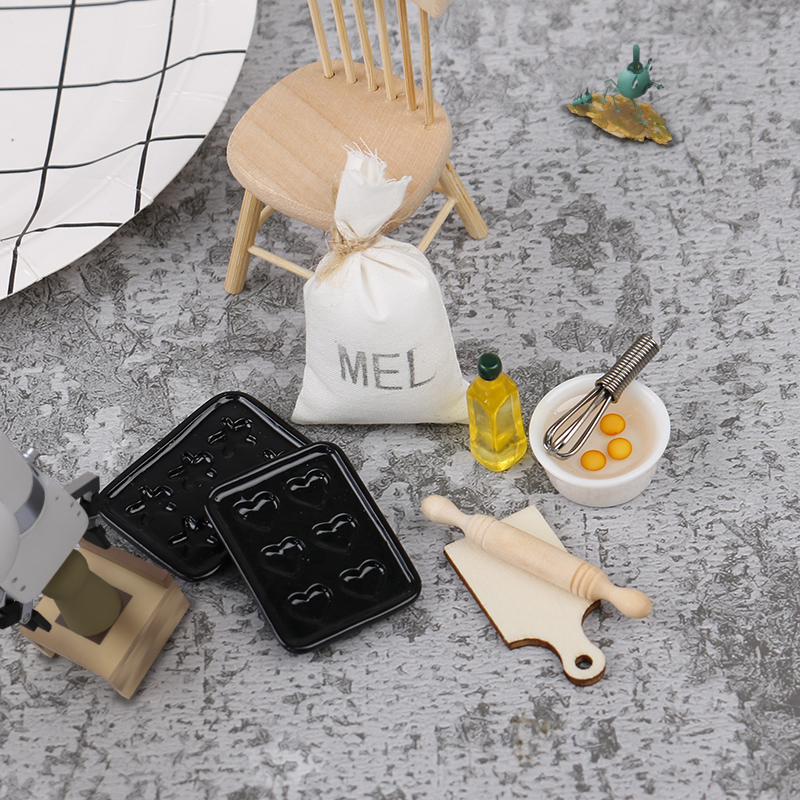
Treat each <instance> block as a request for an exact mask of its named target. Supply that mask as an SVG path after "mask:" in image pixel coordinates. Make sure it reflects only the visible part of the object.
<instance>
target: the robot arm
mask: <svg viewBox="0 0 800 800" xmlns="http://www.w3.org/2000/svg"><path fill="white" fill-rule="evenodd" d="M40 456H41V454H40V452H39V451H38V450H37V449H35V448H34V447H32V446H30V445H27V446H26V447H25V449H23V450H22V451H20V452H19V450H18V449H17V448H16V447H15V445H14V444H13V443H12V442H11V440H10V439H9V438H8V436H7V435H6V434H5V432H4V431H3V430H2V428H0V630H2V631H3V630H6V629H8V628H10V627H13V626H15V625H16V624H20V625H21V627H22V626H24V627H25V628H27V629H29V630H31V631H33V632H34V631H35V630H36V629H37V627H39V628H41V629H43V630H45V631H46V632H50V630H51V629H52V627H51V626H52V625H51V624H50V623H49V622H48V621H47V620H46V619H45V618H44V617H43V616H42V615H41V614H40V613H39V612H38V611H36V610H35V608H34V607H33V606H34V600H35V599H36V598H37V597H38V596H39V595H40V594H42V593H41V591H42V590H43V589H44V588H45V586H46V585H47V584H48V582H49V581H50V580H51V578H52V577H53V576H54V574H55V573H56V572H57V570H58V569H59V568H60V566H61V565H62V564H63V562H64V561H65V560H66V558H67V557H68V556H69V554H70V553H71V551H72V550H73V549H75V548H76V546H77V545H78V542H79V540H80V539H81V537H83V539H84V540H86V541H88V542H90V543H92V544H94V545H96V546H98V547H100V548H103V549H105V550H107V549H109V548H110V547H111V545H113V544H112V543H111V542H110V540H109V539H108V537H107V536H106V534H107V531H106V529H105V527H103V525H102V521H103V516H102V515H101V514H99V513H100V509H101V505H102V499H103V496H102V494H101V493H100V490H101V477H100V475H97V474H95V473H94V472H91V471H86V472H84V473H83V474H81V475H80V476H78V477H77V478H76V479H74V480H72V481H71V482H69V483H67V485H65V486H64V487H63V486H62V485H60V484H59V483H58V482H57V481H55V480H54V479H53V478H51V477H50V476H49V475H47V474H46V473H44V472H43V471H41V470H39V469H38V468H37V467H36V463H37V459H38V458H39V457H40ZM78 500H79V501H78Z"/></svg>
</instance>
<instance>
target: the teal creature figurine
mask: <svg viewBox="0 0 800 800" xmlns="http://www.w3.org/2000/svg"><path fill="white" fill-rule="evenodd" d="M640 55H641V48H640V46H639V45H638V44H637V43H636V44H633V45H632V61H631V62H630V63H628V64H627V66H625V67H624V68H623V69H622V70H621V71H620V73H619V74H618V77H617V81H616V82H615V81H614V80H613V79H612V78H610V79H607V80H604V82H603V83H605V84H606V83H608V82H611V83H613V85H615V87H613V86H606V90H605V92H604V93H594V92H593V90H591V91H590V92H589V86H586V89H585V92H584V93H583V92H580V96H579V95H577V96H575V97H574V98H573V100H572V101H570V102H569V104H568V105H567V108H568V110H569V111H570V113H572V114H575V115H578V116H579V117H581V116H582V117H589V118H591V122H592V123H593V124H594V125H595V126H598V127H599V128H601V129H602V130H604V131H605V132H607V133H609V134H611V135H613V136H616V137H618V138H620V139H624V138H628V139H630V140H634V141H639V142H645V138H646V139H651V140H653V141H654V142H655V143H658V144H660V145H669V143H668V142H669V141H673V136H672V135H671V132H669V130H667V129H666V126H665V125H666V121H665V119H663V118H662V116H661V115H660V114H658V113H657V111H656V110H655V109H653V108H654V107H653V105H652V104H649V103H643V102H639V101H636V100H635V99H638V98H641V97H642V96H644V95H646V93H647V92H648V90H649V89H651V88H652V87H653V86H654V87H655V88H656V90H661V89H663V90H664V89H665V86H664V85H663V84H662V83H660V84H658V83H656V82H655V81H656V80H655V79H656V78H655V77H654V78H653V79H654V80H653V81H652V80H651V77H650V74H649V73H650V72H651V71H653V65H652V62H653V57H650V58H648V60H647V63H646V65H645V66H644V64H643V63H642V62H641V61H640V57H641V56H640ZM609 89H613V91H612V93H614V94H607V93H608V90H609ZM616 91H618V92H616Z"/></svg>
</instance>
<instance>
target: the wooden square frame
mask: <svg viewBox="0 0 800 800" xmlns="http://www.w3.org/2000/svg"><path fill="white" fill-rule="evenodd" d="M77 545H78V546H79V548H78V549H77V551H79V552H80V553H81V554H82V555H83V556H84V557H85V559H86V561H87V563H88V567H89V569H90V570H91V571H92V572H94V573H95V574H96V575H98V576H99V577H100V578H102V579H103V580H105V581H106V582H107V583H109V584H110V585H111V586H113V587H114V588H115V589H116V590H117V592H118V593H119V596H120V598H121V609H120V612H119V615H118V617H117V619H116V620H115V622H114V623H113V624H112V625H111V626H110V627H109V628H108V629H107V630H105V631H103V632H101V633H99V634H97V635H92V636H82V635H78V634H76V633H74V632H73V631H72V630H71V629H70V628H69V627H68V625H67V624H66V622H65V620H64V618H63V616H62V615H61V613H60V611H59V609H58V607H57V605H56V604H55V602H54V600H53V599H51V598H49V597H47V596H45V595H43V597H42V599H40V601H39V602H38V604H37V605H36V607H35V608H34V609H35V610H36V611H38V612H39V613H40V614H41V615H42V616H43V617H44V618H45V619H46V620H47V621H48V622H49V623H50V624H51V625H52V626H51V627H52V629H51V630H50V632H46V631H45V630H43V629H41V628H39V627H37V629H36V630H35V631H34V632H33V631H31V630H29V629H27V628H25V627H24V626H22V625H21V627H20V629H18V632H19V633H20V634H21V635H22V636H23V637H24V639H26V640H27V641H29V642H30V643H31V644H32V645H33V646H34V647H35V648H36V649H37V650H39V652H41V653H42V654H43V655H44V656H47V657H48V658H50V659H53V658H54V656H55V655H56V654H57V655H59V656H61V657H62V658H64V659H67V660H68V661H70V662H72V663H74V664H76V665H78V666H80V667H81V668H83V669H86V670H87V671H89V672H91V673H93V674H95V675H97V676H98V677H101V678H102V679H104V681H105V682H107V684H108V685H110V686H111V688H113V689H114V690H115V692H117V694H119V695H120V696H122V697H123V698H125V699H126V700H130V699H131V698H132V696H133V695H134V693H135V692H136V690H137V688H138V687H139V686H140V684H141V682H142V681H143V680H144V677H146V674H147V673H148V671H149V670H150V668H151V667H152V665H153V664H154V662H155V660H156V659H157V657H158V656H159V655H160V653H161V651H162V650H163V648H164V647H165V645H166V644H167V642H168V641H169V639H170V638H171V636H172V634H173V633H174V631H175V630H176V628H177V626H178V625H179V623H180V622H181V620H182V619H183V617H184V615H185V614H186V612H187V611H188V610H189V608H190V607H191V603H190V601H189V600H188V598H187V597H186V596H185V594H184V593H183V591H182V589H181V588H180V587H179V585H178V584H177V582H176V581H175V579H174V578H173V576H172V574H171V573H170V571H167V570H166V569H164V568H162V567H160V566H157V565H155V564H153V563H151V562H149V561H146V560H144V559H142V558H140V557H138V556H136V555H134V554H131V553H130V552H128V551H125V550H124V549H121V548H119V547H117V546H115V545H113V544H112V545H111V547H110V548H109V549H107V550H105V549H103V548H100V547H98V546H96V545H94V544H92V543H90V542H88V541H86V540H84V539H83V537H81V539H80V540H79V542H78V543H77Z"/></svg>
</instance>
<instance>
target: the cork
mask: <svg viewBox="0 0 800 800" xmlns="http://www.w3.org/2000/svg"><path fill="white" fill-rule="evenodd" d="M40 594H41V595H43V596H47V597H49V598H51V599H53V600H54V602H55V604H56V605H57V607H58V609H59V611H60V613H61V615H62V616H63V618H64V620H65V622H66V624H67V625H68V627H69V628H70V629H71V630H72V631H73V632H74V633H76V634H78V635H82V636H92V635H97V634H99V633H101V632H103V631H105V630H107V629H108V628H109V627H110V626H111V625H112V624H113V623H114V622H115V620H116V619H117V617H118V615H119V612H120V609H121V598H120V596H119V593H118V592H117V590H116V589H115V588H114V587H113V586H111V585H110V584H109V583H107V582H106V581H105V580H103V579H102V578H100V577H99V576H98V575H96V574H95V573H94V572H92V571H91V570H90V569H89V567H88V563H87V561H86V559H85V557H84V556H83V555H82V554H81V553H80V552H79V551H78V549H75V548H74V549H73V550H72V551H71V553H70V554H69V556H68V557H67V558H66V560H65V561H64V562H63V564H62V565H61V566H60V568H59V569H58V570H57V572H56V573H55V574H54V576H53V577H52V578H51V580H50V581H49V582H48V584H47V585H46V586H45V588H44V589H43V590H42V591H41V593H40Z"/></svg>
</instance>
